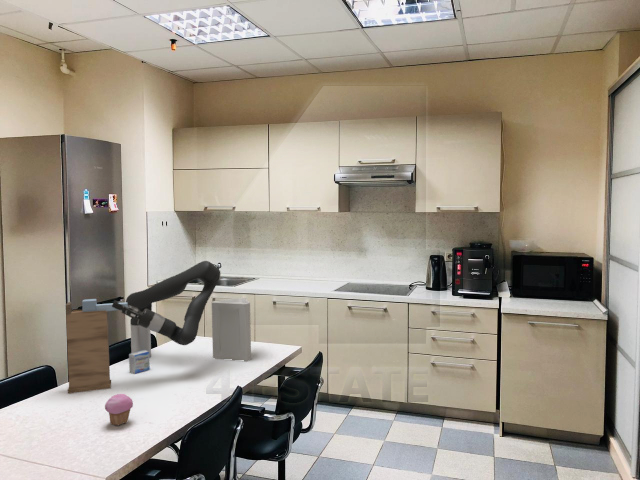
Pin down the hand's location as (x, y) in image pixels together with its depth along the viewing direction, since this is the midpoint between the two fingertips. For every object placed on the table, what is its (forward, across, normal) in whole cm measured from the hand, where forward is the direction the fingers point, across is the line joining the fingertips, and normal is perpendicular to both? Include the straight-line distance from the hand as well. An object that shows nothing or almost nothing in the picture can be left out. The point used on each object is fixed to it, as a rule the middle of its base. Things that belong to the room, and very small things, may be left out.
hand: (113, 303), depth 208 cm
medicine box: (-26, -16, +26) cm, 40 cm away
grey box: (-66, -23, +2) cm, 70 cm away
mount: (-9, 0, +35) cm, 36 cm away
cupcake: (-20, +42, +29) cm, 55 cm away
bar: (+1, 0, +4) cm, 4 cm away
